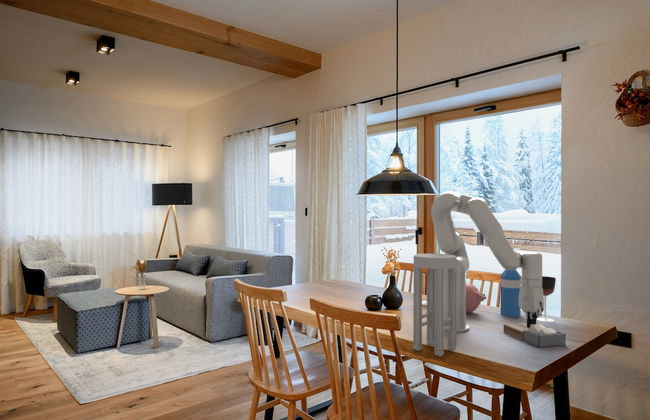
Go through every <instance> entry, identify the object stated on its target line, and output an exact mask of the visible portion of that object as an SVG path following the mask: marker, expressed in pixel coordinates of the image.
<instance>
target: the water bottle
mask: <svg viewBox="0 0 650 420" xmlns="http://www.w3.org/2000/svg"><path fill="white" fill-rule="evenodd" d="M521 285H522V275H521V274H520V272H518V271H517V269H516V270H513V271H509V270H506V269H504V270H503V272H502V273H501V274H500V315H502V316H503V317H508V318H509V317H511V318H520V317H521V314H522V313H521V312H522V309H521V308H519V291H520V286H521Z"/></svg>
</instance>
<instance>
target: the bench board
mask: <svg viewBox="0 0 650 420" xmlns="http://www.w3.org/2000/svg"><path fill="white" fill-rule="evenodd" d="M529 329H530V328H527V322H519V323H518V322H517V323H504V324H503V333H504V334H506V335H509V336H511V337H513V338H515V339H518V340H520V341H522V342H524V341H523V334H524V330H526V331H529ZM529 332H530V331H529Z"/></svg>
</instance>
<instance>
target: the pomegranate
mask: <svg viewBox="0 0 650 420" xmlns="http://www.w3.org/2000/svg"><path fill="white" fill-rule="evenodd" d="M484 300H487V296H486V294H485V293H484V292H483V293H481V292H480V290H479V289H478V287H476V285H474V284H472V283H470V282H466V314H469V313H474V312H475V311H476V310H477V309H478V308H479V306H480V304H481V302H484Z"/></svg>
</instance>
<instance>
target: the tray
mask: <svg viewBox="0 0 650 420" xmlns="http://www.w3.org/2000/svg"><path fill="white" fill-rule="evenodd" d="M554 330H555V331H556V332H557V334H552V335H536V334H534V333H531V332H529V331H526V330H524V334H523V341H522V342H524V343H527V344H529V345H530V346H531V345H532V346H533V347H536V348H538V349H539V348H540V349H542V348H552V347H553V348H554V347H555V348H556V347H565V346H566V342H567V341H566V340H567V338H566V333H564V332H561V331H559V330H557V329H554Z"/></svg>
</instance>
